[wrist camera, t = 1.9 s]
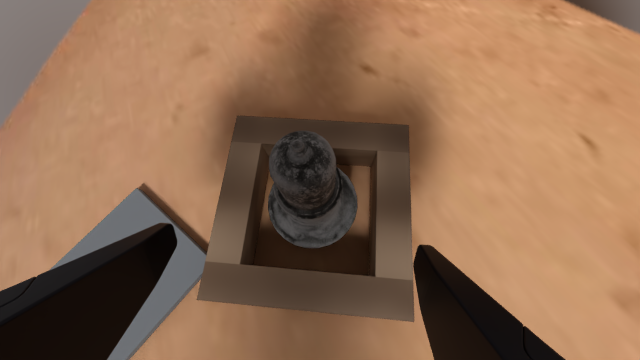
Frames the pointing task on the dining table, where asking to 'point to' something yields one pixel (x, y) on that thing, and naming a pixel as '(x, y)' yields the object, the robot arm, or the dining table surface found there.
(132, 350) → the coaster
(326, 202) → the grey chess piece
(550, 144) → the dining table surface
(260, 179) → the collar
